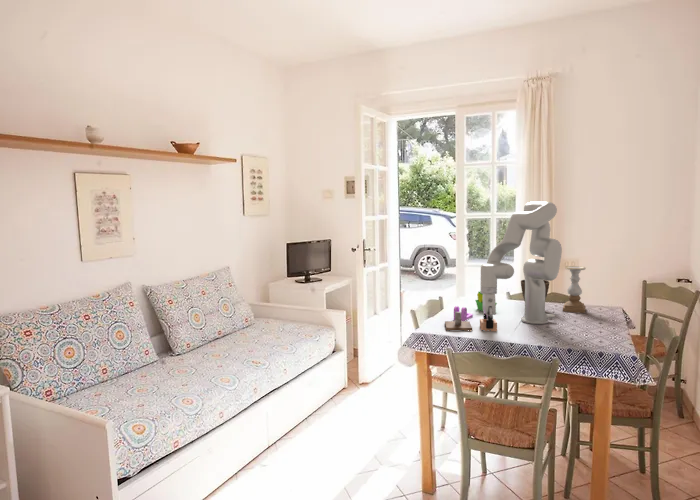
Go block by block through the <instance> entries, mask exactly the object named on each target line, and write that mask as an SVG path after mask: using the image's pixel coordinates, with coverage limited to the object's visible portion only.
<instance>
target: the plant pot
mask: <svg viewBox="0 0 700 500" xmlns="http://www.w3.org/2000/svg"><path fill="white" fill-rule="evenodd" d="M543 281H544V283H545V301H546V299H547V297H548V293H549V289H550V281H547V280H543ZM520 286H521V287H520V288H521V293H522V297H523V298H522V299H523V300H524V302H525V279H522V280H520Z"/></svg>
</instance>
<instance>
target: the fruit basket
mask: <svg viewBox="0 0 700 500" xmlns="http://www.w3.org/2000/svg"><path fill="white" fill-rule="evenodd" d="M475 304H476V307H477V310H479V311H480V312H481V311H482V312H483V313H484V311H483V294H482V293H480V291H478V292H477V299H475ZM497 304H498V303H497V302H496V305H497Z"/></svg>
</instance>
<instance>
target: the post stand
mask: <svg viewBox="0 0 700 500" xmlns="http://www.w3.org/2000/svg"><path fill="white" fill-rule="evenodd" d="M444 326H446V327H445V331H447V330H465V331H464V332H471V331H470V330H472V331H473V326H472V324H471V322H470V321H468V320H466V321H461V311H459V312H455V320H454V321H453V320H452V321H451V320H450V321H449V320H447V321H446V320H445V321H444ZM468 330H469V331H468Z"/></svg>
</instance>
